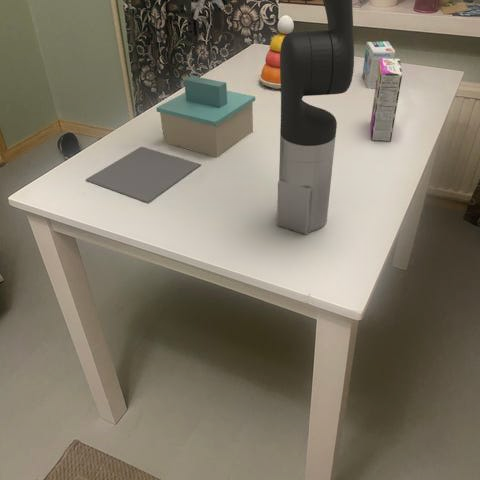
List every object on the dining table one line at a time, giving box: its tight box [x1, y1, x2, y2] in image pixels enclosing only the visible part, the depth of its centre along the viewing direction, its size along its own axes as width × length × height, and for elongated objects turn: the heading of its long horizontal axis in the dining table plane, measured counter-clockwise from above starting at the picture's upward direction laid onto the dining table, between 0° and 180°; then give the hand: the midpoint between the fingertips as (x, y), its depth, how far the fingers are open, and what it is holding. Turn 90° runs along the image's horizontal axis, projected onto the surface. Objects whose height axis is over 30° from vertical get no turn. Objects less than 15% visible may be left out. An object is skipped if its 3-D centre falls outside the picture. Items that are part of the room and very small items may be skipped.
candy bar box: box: [370, 58, 403, 143], centre depth 112 cm, size 11×5×16 cm, turn 168°
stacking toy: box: [258, 14, 295, 90], centre depth 140 cm, size 14×14×20 cm
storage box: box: [159, 102, 254, 158], centre depth 116 cm, size 16×16×8 cm
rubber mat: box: [85, 146, 202, 204], centre depth 104 cm, size 18×18×1 cm
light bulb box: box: [361, 40, 396, 89], centre depth 141 cm, size 11×7×11 cm, turn 178°
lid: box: [156, 75, 256, 126], centre depth 112 cm, size 17×17×7 cm
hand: (206, 32), depth 103 cm, fingers open, 8 cm apart
